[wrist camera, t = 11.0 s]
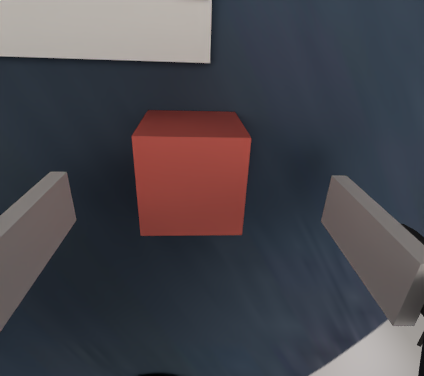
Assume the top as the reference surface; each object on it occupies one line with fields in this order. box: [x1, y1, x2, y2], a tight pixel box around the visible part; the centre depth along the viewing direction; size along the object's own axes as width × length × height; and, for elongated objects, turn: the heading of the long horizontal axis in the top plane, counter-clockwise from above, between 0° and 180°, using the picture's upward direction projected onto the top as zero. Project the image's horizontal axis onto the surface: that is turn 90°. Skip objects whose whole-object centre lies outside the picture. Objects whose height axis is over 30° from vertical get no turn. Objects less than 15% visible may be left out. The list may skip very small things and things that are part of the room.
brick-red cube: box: [132, 110, 251, 236], centre depth 18 cm, size 6×6×6 cm
